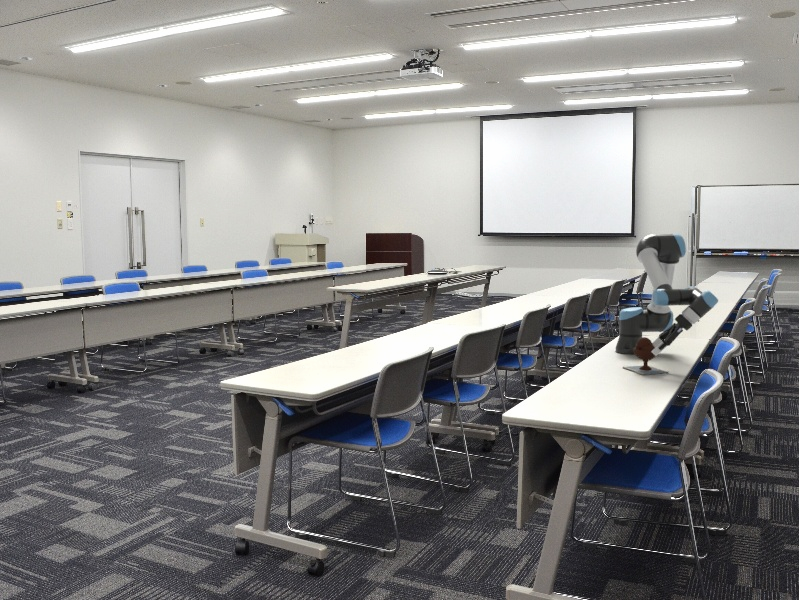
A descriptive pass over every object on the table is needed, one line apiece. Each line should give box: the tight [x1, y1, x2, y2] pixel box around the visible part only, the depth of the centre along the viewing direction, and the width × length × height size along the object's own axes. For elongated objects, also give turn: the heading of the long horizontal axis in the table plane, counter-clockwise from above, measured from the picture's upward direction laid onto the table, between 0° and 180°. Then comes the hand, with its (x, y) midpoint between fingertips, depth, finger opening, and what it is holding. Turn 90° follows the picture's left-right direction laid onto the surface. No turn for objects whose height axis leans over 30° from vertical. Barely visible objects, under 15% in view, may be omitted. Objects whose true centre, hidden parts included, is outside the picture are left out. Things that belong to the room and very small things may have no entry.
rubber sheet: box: [622, 364, 670, 376], centre depth 328 cm, size 17×13×1 cm
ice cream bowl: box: [633, 336, 656, 370], centre depth 328 cm, size 11×11×15 cm
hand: (651, 351), depth 326 cm, fingers open, 13 cm apart
